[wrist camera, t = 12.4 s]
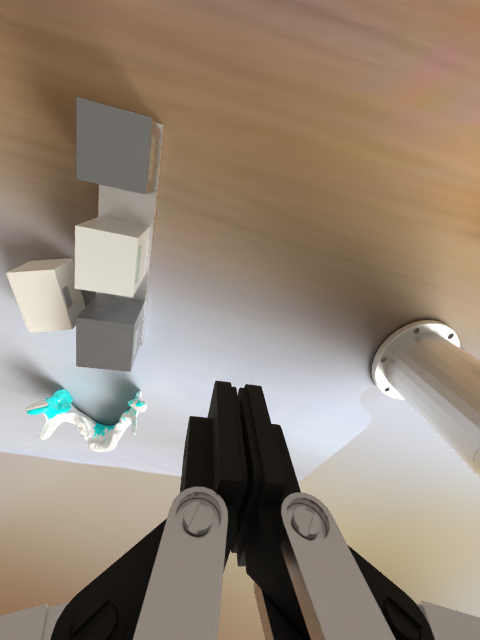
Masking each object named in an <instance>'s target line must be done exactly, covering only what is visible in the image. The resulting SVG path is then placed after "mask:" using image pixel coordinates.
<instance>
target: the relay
mask: <svg viewBox="0 0 480 640" xmlns="http://www.w3.org/2000/svg"><path fill="white" fill-rule="evenodd" d="M6 274H7V277H8V280H9V282H10V285H11V288H12V290H13V293H14V295H15V298H16V301H17V303H18V306H19V308H20V311H21V314H22V316H23V319H24V322H25V324H26V327H27V329H28V332H29V333H34V332H45V331H56V330H68V329H73V328H74V326H75V325H76V318H77V316H78V315H79V314H80V313H81V312H82V311H83V309H84V308H85V303H84V300H83V296H82V292H81V289H75V267H74V264H73V260H72V258H66V259H50V260H35V261H29V262H27V263H25V264H23V265H21V266H19V267H17V268H15V269H13V270H11V271H8V272H6Z"/></svg>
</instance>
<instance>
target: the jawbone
mask: <svg viewBox="0 0 480 640" xmlns="http://www.w3.org/2000/svg"><path fill="white" fill-rule="evenodd" d="M141 397H142V392H141V391H138V392H137V393H136V396H135V399H133V400H130V401H129V402H128V405H129V406H131V408H130V409H129V410H127V411H125V412H124V413H123V414H122V416H121V417H120V419H119V422H118V423H117V424H116V425H111V426H105V425H101V424H99V423H97V422H95V421H94V420H92V419H91V418H90V417H88V416H86V415H85V414H83V413H81V412H80V411H78V410H77V409H76V408H75V407H74V406H73V405H72V404H71V402H72V401H73V398H72V397H71V396H70V394H69V392H68V391H66V390H65V389H61V390H58V391H56V392H55V393H54V394H53V395H52V396H51V397H50V398H46V399H45V400H41V401H38V402H36V403H33V404H31V405H29V406H28V407H27V408H26V411H27V414H30V415H37V414H40V413H43V414H44V415H45V424H44V425H43V427H42V430H41V432H40V434H39V439H41V440H45V439H47V438H49V437H50V436H51V435H52V433H53V432H54V430H55V429H56V428H57V427H58V425H60V424H61V423H62V422H69V423H73V424H75V425H76V426H77V428H79V431H80V433H81V434H82V435H83V438H84V439H85V440H86V442H87V443H89V445H88V448H89V449H90V450H93V451H97V452H104V451H105V452H107V451H111V450H113V449H114V448H115V447H116V445H117V442H118V440H119V439H120V438H121V437H122V435H123V433H124V431H125V429H126V428H127V427H128V426H129V425H130V424H131V423H132V435H133V436H134V435H135V434H136V426H137V416H138V414H139V412H141V413H142V412H144V411H145V410H146V408H147V405H146V403H145V402H143V401H142V399H141Z"/></svg>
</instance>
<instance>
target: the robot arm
mask: <svg viewBox="0 0 480 640" xmlns="http://www.w3.org/2000/svg"><path fill="white" fill-rule="evenodd" d="M372 378H373V381H374V383H375V384H376V386H377V387H378V388H379V389H380V390H381V392H382V393H384V394H386V395H387V396H389V397H392V398H395V399H404V400H405V401H406V402H407V403H409V405H411V407H412V408H413V409H414V410H415V411H416V412H417V413H418V414H419V415H420V416H421V417H422V418H423V419H424V420H425V421H426V423H428V424H429V426H430V427H431V428H432V429H433V430H434V431H435V432H436V433H437V434H438V435H439V436H440V437H441V438H442V439H443V440H444V441H445V442H446V443H447V444H448V445H449V446H450V448H451V449H452V450H453V451H454V452H455V453H456V454H457V455H458V456H459V457H460V458H461V459H462V460H463V461H464V462H465V463H466V464H467V465H468V466H469V467H470V468H471V469H472V470H473V471H474V472H475V473H476V474H477V475H478V477H479V478H480V360H478V359H477V358H475V357H473V356H472V355H470V354H469V353H467V352H465V351H464V350H462V349H461V348H460V341H459V338H458V336H457V334H456V332H455V331H454V330H453V329H452V328H450V327H449V326H447V325H445V324H443V323H441V322H439V321H434V320H422V321H417V322H413V323H410V324H408V325H405V326H404V327H402V328H400V329H398V330H397V331H395V332H394V333H393V334H392V335H390V336H389V337H388V338H387V339H386V340H385V341H384V342H383V344H382V345H381V346H380V348H379V349H378V351H377V353H376V355H375V357H374V360H373V363H372ZM230 550H231V552H232V553H237V561H238V566H246V572H247V574H248V575H249V576H250V577H251V578H252V579H253V580H254V591H255V597H256V601H257V605H258V610H259V614H260V619H261V623H262V627H263V632H264V636H265V640H480V618H478V617H475V616H472V615H468V614H465V613H462V612H458V611H455V610H451V609H448V608H445V607H441V606H438V605H434V604H431V603H428V602H424V601H421V602H420V604H416V603H415V602H414V601H413V600H412V599H411V598H410V597H409V596H408V595H407V594H406V593H405V592H403V591H402V590H401V589H400V588H399V587H397V586H396V585H395V584H394V583H393V582H391V581H390V580H389V579H388V578H387V577H385V576H384V575H383V574H382V573H381V572H379V571H378V570H377V569H376V568H375V567H373V566H372V565H371V564H370V563H369V562H367V561H366V560H365V559H364V558H363V557H361V556H360V555H359V554H358V553H357V552H355V551H354V550H353V549H352V548H351V547H349V546H348V545H347V544H346V542H345V540H344V538H343V536H342V534H341V532H340V530H339V528H338V526H337V524H336V522H335V520H334V518H333V516H332V514H331V513H330V511H329V510H328V508H327V507H326V506H325V505H324V504H323V503H322V502H321V501H320V500H318V499H317V498H315V497H313V496H312V495H309V494H306V493H301V491H300V488H299V485H298V481H297V478H296V475H295V471H294V468H293V465H292V461H291V458H290V455H289V451H288V448H287V445H286V441H285V438H284V435H283V432H282V429H281V426H280V425H277V424H271V421H270V417H269V413H268V410H267V406H266V402H265V398H264V394H263V391H262V387H261V386H256V385H248V384H246V385H245V387H244V388H240V389H239V392H238V396H237V390H236V387H231V383H230V382H222V381H215V385H214V389H213V394H212V399H211V404H210V409H209V413H208V418H204V417H194V416H190V418H189V423H188V429H187V435H186V441H185V449H184V457H183V467H182V477H181V488H180V493H179V495H178V496H177V497H176V498H175V499H174V500H173V503H172V505H171V507H170V510H169V514H168V517H167V519H166V520H165V521H163V522H162V523H161V524H160V525H158V526H157V527H156V528H155V529H154V530H153V531H151V532H150V533H149V534H148V535H147V536H145V537H144V538H143V539H142V540H141V541H140V542H138V543H137V544H136V545H135V546H134V547H133V548H131V549H130V550H129V551H128V552H127V553H125V554H124V555H123V556H122V557H121V558H120V559H118V560H117V561H116V562H115V563H114V564H112V565H111V566H110V567H109V568H108V569H107V570H105V571H104V572H103V573H102V574H101V575H99V576H98V577H97V578H96V579H95V580H94V581H92V582H91V583H90V584H89V585H87V586H86V587H85V588H84V589H83V590H82V591H80V592H79V593H78V594H77V595H76V596H75V597H74V598H73V599H72V600H71V601H70V602H68V603H64V604H61V605H57V606H53V607H49V608H48V604H44V605H40V606H36V607H32V608H28V609H25V610H21V611H17V612H14V613H10V614H6V615H2V616H0V640H217V636H218V623H219V613H220V602H221V591H222V580H223V572H224V569H225V566H226V562H227V560H228V556H229V553H230Z"/></svg>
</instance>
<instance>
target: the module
mask: <svg viewBox="0 0 480 640" xmlns="http://www.w3.org/2000/svg"><path fill="white" fill-rule="evenodd" d="M148 236H149V226H144V225H139V224H135V223H130V222H125V221H120V220H116V219H111V218H106V217H101V216H100V217H97V218H94V219H91V220H89V221H86V222H83V223H81V224H78V225H75V289H81V290H88V291H94V292H100V293H107V294H113V295H119V296H126V297H132V298H133V296H134V294H135V292H136V290H137V288H138V287H139V285H140V283H141V281H142V279H143V277H144V275H145V265H146V255H147V246H148Z"/></svg>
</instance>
